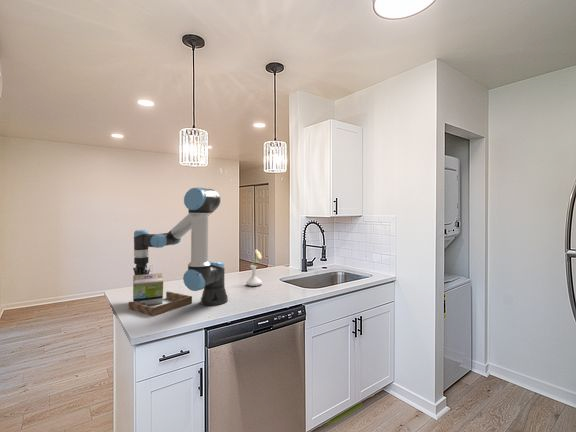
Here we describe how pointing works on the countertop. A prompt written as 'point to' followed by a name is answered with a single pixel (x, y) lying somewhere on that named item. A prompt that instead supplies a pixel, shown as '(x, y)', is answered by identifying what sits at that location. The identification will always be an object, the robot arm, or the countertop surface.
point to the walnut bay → (153, 311)
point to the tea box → (148, 289)
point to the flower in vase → (254, 280)
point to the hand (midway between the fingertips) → (141, 296)
